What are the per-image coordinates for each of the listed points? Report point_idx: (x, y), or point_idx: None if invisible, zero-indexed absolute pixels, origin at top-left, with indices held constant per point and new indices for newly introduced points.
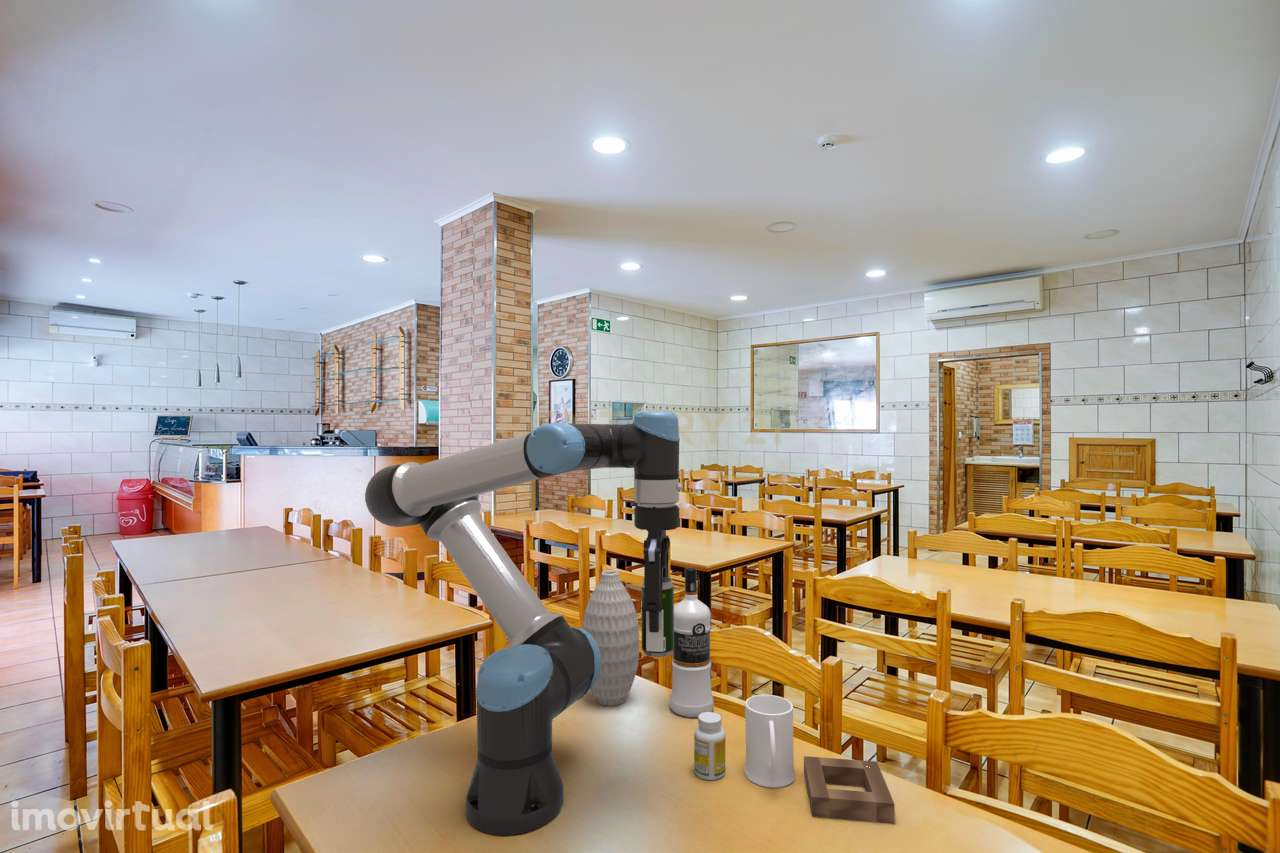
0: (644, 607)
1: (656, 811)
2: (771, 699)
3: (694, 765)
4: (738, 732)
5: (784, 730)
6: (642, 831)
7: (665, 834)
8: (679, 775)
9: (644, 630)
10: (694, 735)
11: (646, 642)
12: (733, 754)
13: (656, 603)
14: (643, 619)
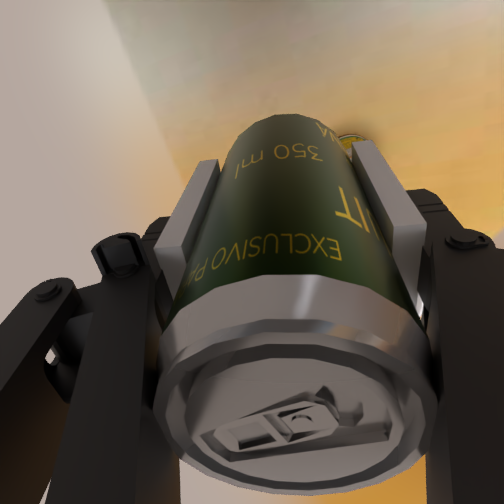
0: (27, 294)
1: (221, 99)
2: (417, 305)
3: (344, 139)
4: (494, 185)
5: None
6: (168, 91)
7: (175, 127)
8: (330, 111)
9: (226, 169)
10: (351, 157)
11: (192, 175)
12: (411, 187)
13: (47, 367)
14: (222, 185)
